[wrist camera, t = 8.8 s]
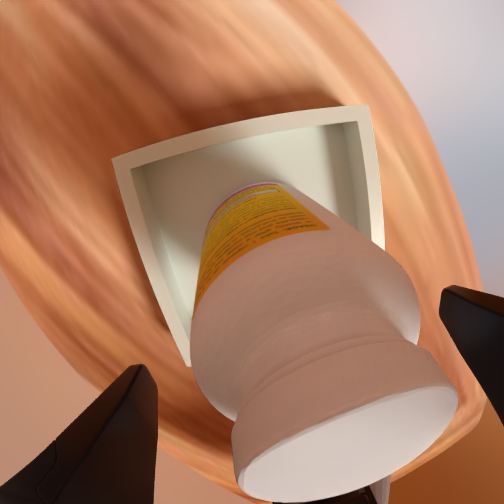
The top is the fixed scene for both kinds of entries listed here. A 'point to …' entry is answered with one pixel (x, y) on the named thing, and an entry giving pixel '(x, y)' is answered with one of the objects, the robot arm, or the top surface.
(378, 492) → the coffee pot
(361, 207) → the tray
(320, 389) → the supplement bottle
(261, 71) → the top surface
